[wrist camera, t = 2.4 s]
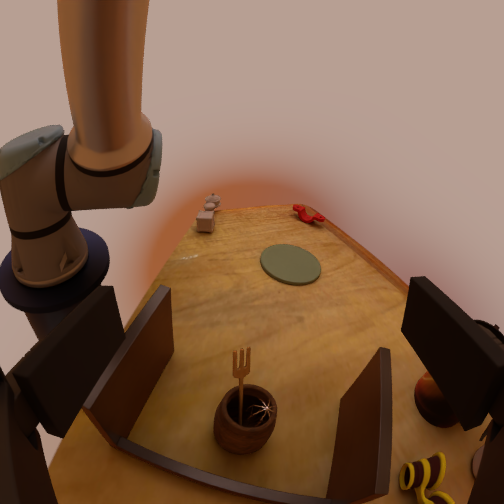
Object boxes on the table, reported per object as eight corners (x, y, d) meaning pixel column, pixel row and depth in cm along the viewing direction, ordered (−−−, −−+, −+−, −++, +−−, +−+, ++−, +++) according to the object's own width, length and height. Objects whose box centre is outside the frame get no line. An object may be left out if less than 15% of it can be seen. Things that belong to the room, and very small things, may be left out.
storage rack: (333, 512, 21) (388, 494, 15) (110, 445, 24) (77, 402, 18) (349, 400, 33) (390, 348, 27) (165, 347, 36) (160, 284, 30)
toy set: (194, 216, 57) (196, 233, 59) (212, 217, 57) (213, 233, 59) (206, 190, 66) (207, 205, 69) (221, 190, 66) (222, 205, 68)
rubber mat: (250, 251, 56) (250, 248, 56) (299, 243, 61) (300, 241, 60) (279, 290, 48) (279, 288, 48) (331, 278, 53) (332, 275, 53)
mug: (465, 365, 39) (506, 315, 32) (461, 434, 28) (518, 387, 21) (421, 346, 42) (460, 291, 35) (409, 416, 31) (464, 364, 24)
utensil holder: (226, 464, 25) (239, 426, 18) (203, 415, 30) (207, 357, 23) (276, 445, 28) (311, 398, 21) (252, 400, 32) (273, 339, 25)
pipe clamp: (322, 220, 66) (319, 229, 67) (326, 217, 68) (324, 225, 69) (290, 206, 69) (288, 215, 70) (296, 203, 71) (294, 211, 72)
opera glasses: (392, 469, 26) (408, 458, 23) (429, 458, 26) (447, 445, 23) (403, 536, 18) (422, 534, 15) (442, 521, 18) (464, 515, 15)
